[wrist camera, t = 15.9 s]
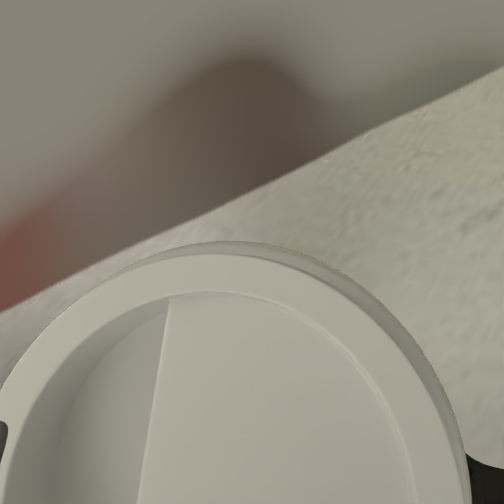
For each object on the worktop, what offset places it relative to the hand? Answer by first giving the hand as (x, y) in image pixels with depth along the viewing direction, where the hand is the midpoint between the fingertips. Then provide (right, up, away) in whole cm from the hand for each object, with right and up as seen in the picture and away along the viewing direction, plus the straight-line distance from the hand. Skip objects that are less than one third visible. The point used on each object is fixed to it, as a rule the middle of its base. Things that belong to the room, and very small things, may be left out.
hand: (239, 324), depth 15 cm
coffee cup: (+1, -5, +5) cm, 7 cm away
